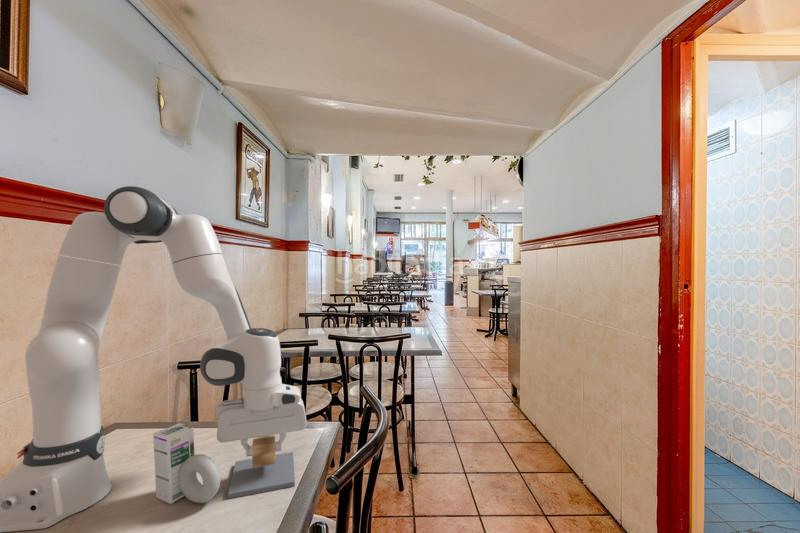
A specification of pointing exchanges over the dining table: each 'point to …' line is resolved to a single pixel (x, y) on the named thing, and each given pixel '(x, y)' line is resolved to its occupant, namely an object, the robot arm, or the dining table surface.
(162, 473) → the syrup box
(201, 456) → the donut
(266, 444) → the oak cube
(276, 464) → the slate mat
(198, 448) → the dining table surface
